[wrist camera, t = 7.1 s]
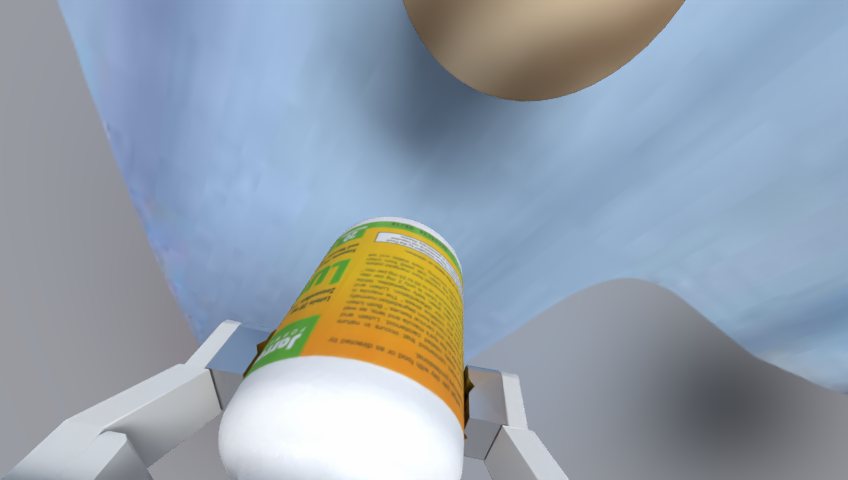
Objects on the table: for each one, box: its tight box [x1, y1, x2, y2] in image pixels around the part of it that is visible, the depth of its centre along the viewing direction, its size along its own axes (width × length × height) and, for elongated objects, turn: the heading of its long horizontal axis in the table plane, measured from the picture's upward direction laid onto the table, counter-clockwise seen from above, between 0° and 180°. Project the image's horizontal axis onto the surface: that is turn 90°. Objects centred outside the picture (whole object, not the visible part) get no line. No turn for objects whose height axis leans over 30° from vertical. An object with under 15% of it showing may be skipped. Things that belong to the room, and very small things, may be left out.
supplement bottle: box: [218, 217, 464, 480], centre depth 9 cm, size 6×6×10 cm
